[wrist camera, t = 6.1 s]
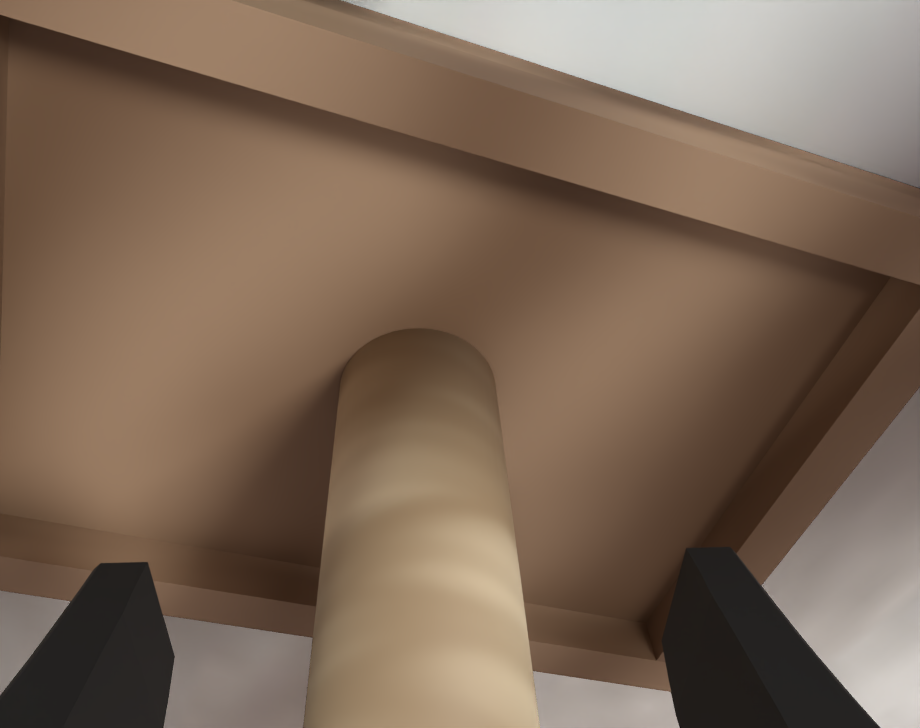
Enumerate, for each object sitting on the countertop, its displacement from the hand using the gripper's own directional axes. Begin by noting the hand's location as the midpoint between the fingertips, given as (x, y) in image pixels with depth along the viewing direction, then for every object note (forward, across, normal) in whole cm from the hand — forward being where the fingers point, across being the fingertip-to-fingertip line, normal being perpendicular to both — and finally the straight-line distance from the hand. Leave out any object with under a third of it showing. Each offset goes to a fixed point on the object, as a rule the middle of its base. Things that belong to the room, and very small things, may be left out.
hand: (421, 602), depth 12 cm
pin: (+5, 0, 0) cm, 5 cm away
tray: (+5, 0, 0) cm, 5 cm away
